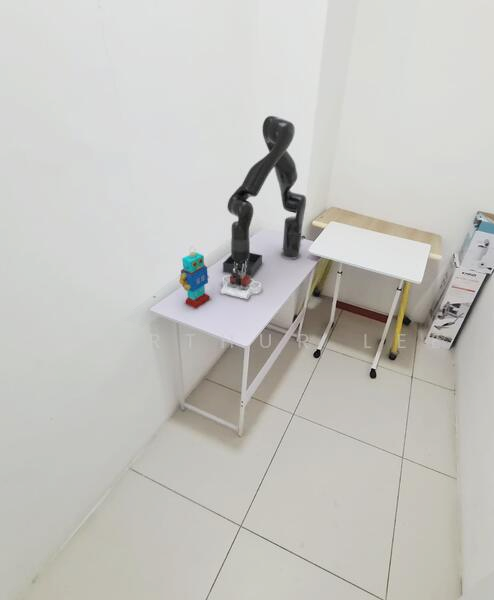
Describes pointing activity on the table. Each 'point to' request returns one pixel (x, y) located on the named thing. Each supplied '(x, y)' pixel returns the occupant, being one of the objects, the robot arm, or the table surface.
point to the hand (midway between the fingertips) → (240, 281)
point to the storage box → (253, 264)
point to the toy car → (242, 279)
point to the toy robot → (194, 279)
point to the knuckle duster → (237, 291)
